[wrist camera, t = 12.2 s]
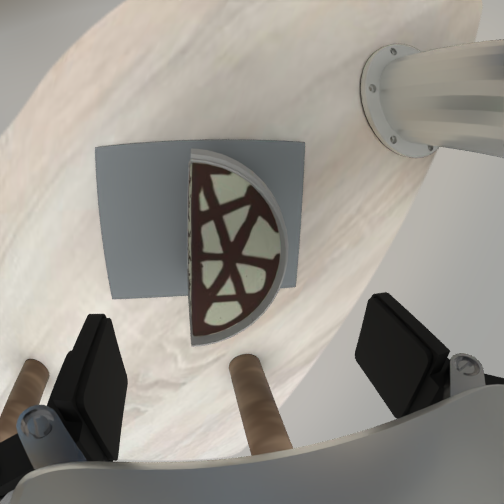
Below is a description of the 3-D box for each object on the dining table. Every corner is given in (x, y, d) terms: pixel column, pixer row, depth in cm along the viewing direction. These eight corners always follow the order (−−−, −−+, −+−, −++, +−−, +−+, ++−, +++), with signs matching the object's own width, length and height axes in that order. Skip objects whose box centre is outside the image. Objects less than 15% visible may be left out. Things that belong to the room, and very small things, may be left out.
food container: (252, 282, 29) (284, 347, 20) (187, 284, 28) (191, 353, 19) (262, 149, 25) (307, 156, 16) (189, 146, 23) (191, 149, 14)
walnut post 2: (260, 352, 33) (301, 453, 20) (259, 375, 34) (295, 472, 21) (228, 355, 32) (257, 462, 19) (229, 378, 33) (255, 480, 21)
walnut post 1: (43, 359, 27) (7, 452, 15) (53, 381, 29) (26, 472, 16) (20, 358, 27) (-18, 445, 14) (31, 379, 28) (0, 465, 15)
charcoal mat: (303, 142, 26) (305, 142, 25) (294, 285, 31) (295, 286, 30) (96, 147, 22) (95, 147, 22) (113, 297, 27) (112, 299, 27)
